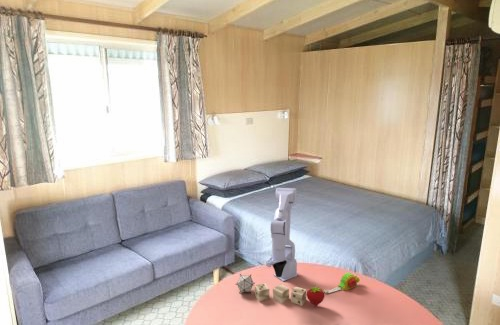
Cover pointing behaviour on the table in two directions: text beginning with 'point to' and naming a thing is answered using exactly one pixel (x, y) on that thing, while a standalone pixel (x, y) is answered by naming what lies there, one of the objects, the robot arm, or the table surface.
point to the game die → (245, 283)
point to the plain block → (281, 293)
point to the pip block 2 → (298, 296)
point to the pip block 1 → (262, 292)
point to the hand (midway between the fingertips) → (278, 276)
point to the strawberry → (315, 296)
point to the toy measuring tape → (345, 283)
